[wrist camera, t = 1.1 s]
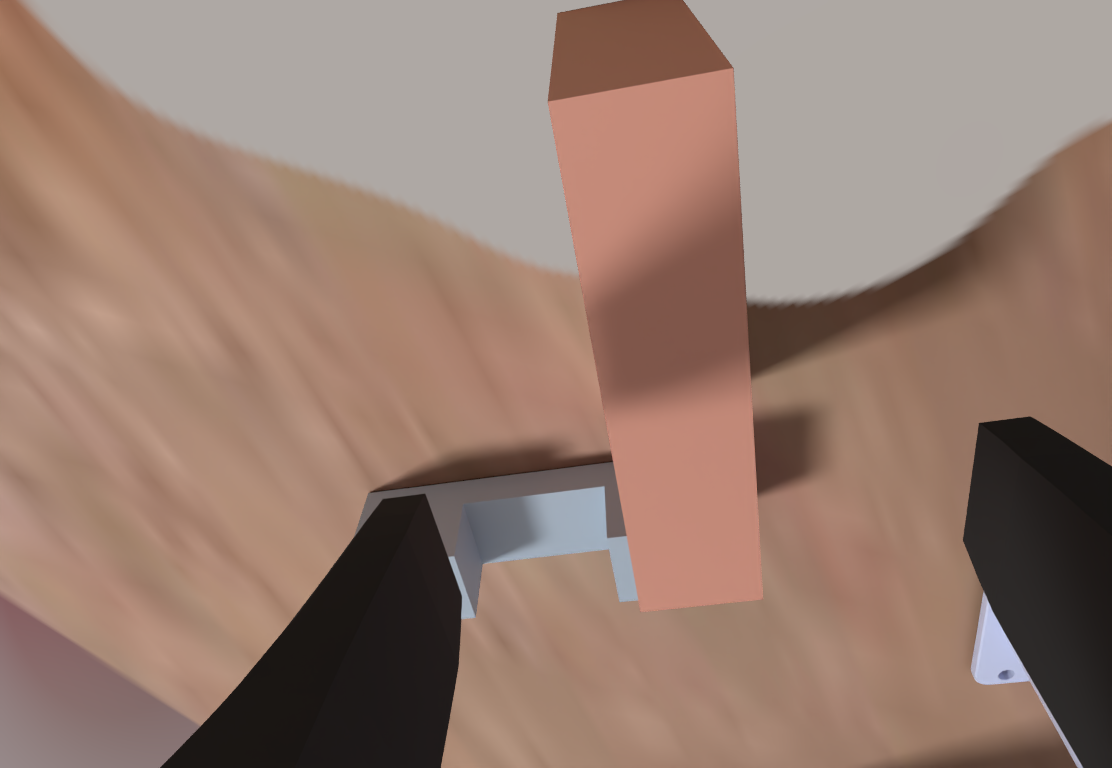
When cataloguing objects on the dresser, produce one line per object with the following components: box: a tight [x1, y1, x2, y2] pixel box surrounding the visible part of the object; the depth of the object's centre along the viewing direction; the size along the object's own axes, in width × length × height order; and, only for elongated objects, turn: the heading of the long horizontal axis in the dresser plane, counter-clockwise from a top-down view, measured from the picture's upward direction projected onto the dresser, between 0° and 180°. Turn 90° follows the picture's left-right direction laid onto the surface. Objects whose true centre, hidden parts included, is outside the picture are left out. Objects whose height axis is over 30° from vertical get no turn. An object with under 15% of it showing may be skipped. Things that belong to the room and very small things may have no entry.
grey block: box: [354, 462, 638, 619], centre depth 22 cm, size 10×2×3 cm, turn 100°
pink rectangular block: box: [548, 0, 763, 612], centre depth 16 cm, size 2×10×7 cm, turn 10°
